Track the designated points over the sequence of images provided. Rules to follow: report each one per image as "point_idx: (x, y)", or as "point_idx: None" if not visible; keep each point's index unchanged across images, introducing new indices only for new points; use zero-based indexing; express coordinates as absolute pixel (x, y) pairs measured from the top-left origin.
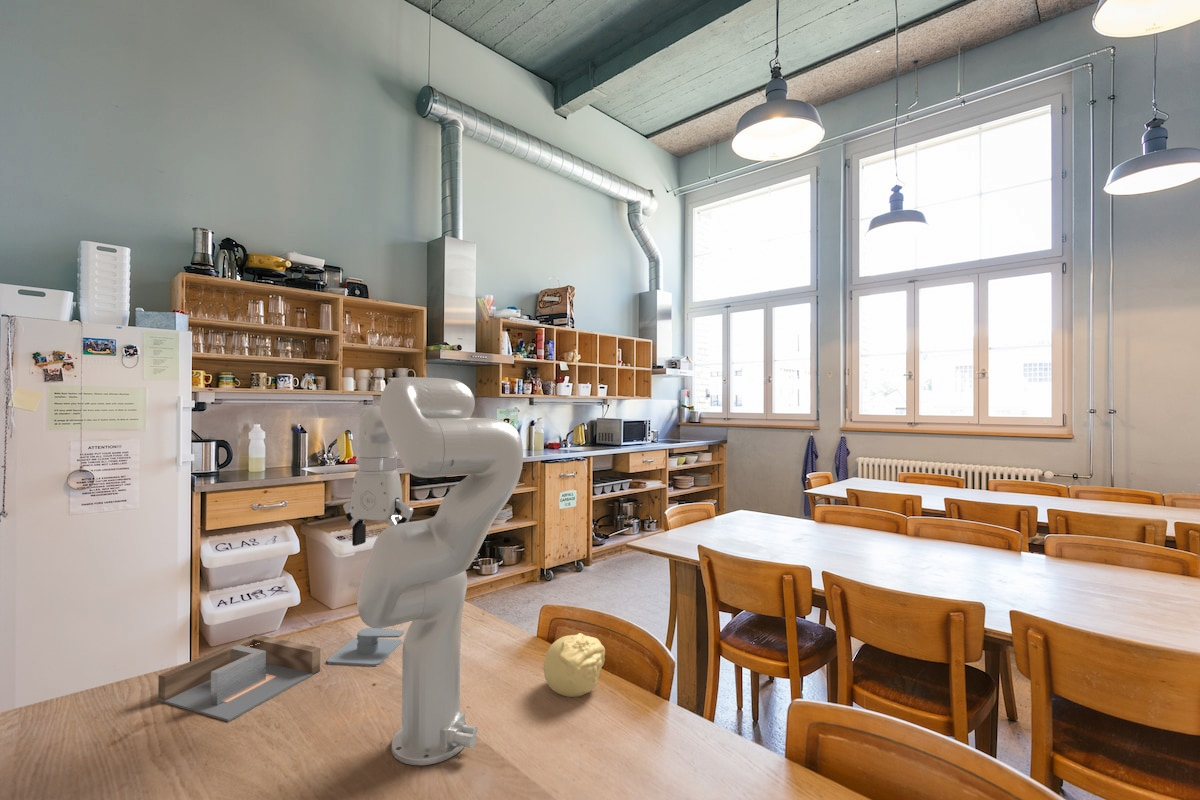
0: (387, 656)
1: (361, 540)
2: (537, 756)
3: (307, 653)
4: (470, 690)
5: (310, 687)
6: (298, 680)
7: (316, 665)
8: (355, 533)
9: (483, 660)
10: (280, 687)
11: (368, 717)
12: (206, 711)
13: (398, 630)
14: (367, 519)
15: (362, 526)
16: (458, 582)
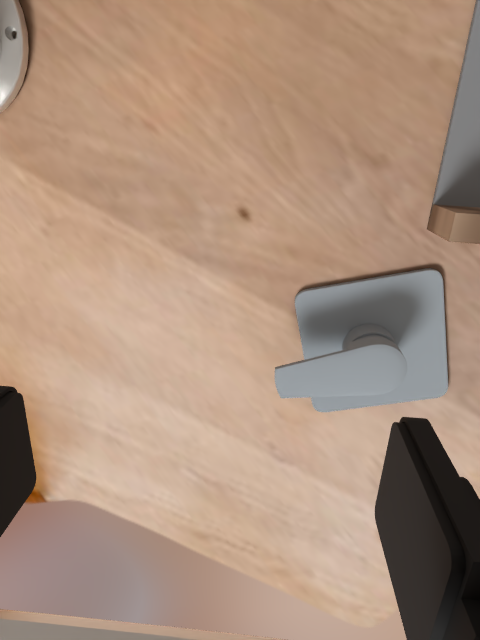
0: (300, 335)
1: (387, 496)
2: None
3: (473, 213)
4: (19, 255)
5: (393, 150)
6: (446, 161)
7: (436, 220)
8: (428, 500)
9: (79, 377)
10: (471, 113)
11: (151, 76)
12: None
13: (297, 395)
14: (130, 632)
15: (425, 636)
16: None
